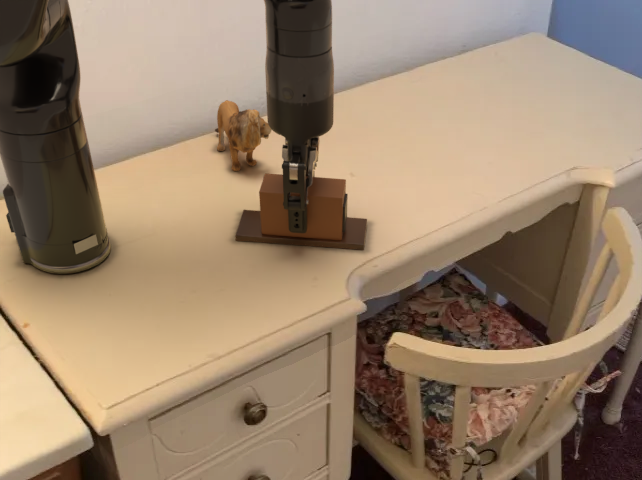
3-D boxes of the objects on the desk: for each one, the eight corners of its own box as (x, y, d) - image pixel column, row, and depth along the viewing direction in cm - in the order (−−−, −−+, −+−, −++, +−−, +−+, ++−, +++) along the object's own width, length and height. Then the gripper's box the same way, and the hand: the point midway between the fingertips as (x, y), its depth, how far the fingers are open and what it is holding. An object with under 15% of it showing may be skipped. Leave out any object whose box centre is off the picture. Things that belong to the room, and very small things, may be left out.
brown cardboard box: (344, 241, 103) (345, 198, 99) (261, 234, 103) (259, 191, 99) (347, 221, 107) (348, 179, 102) (267, 215, 107) (265, 172, 102)
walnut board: (235, 240, 104) (235, 235, 103) (243, 214, 108) (243, 209, 107) (363, 250, 104) (364, 244, 103) (367, 223, 108) (367, 218, 107)
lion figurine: (278, 174, 116) (276, 112, 110) (243, 183, 113) (239, 121, 107) (231, 130, 124) (226, 70, 118) (198, 138, 122) (191, 77, 116)
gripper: (327, 117, 87) (326, 248, 99) (339, 62, 98) (337, 186, 109) (256, 112, 87) (263, 243, 99) (275, 57, 98) (280, 182, 109)
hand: (302, 213), depth 104 cm, fingers open, 7 cm apart
